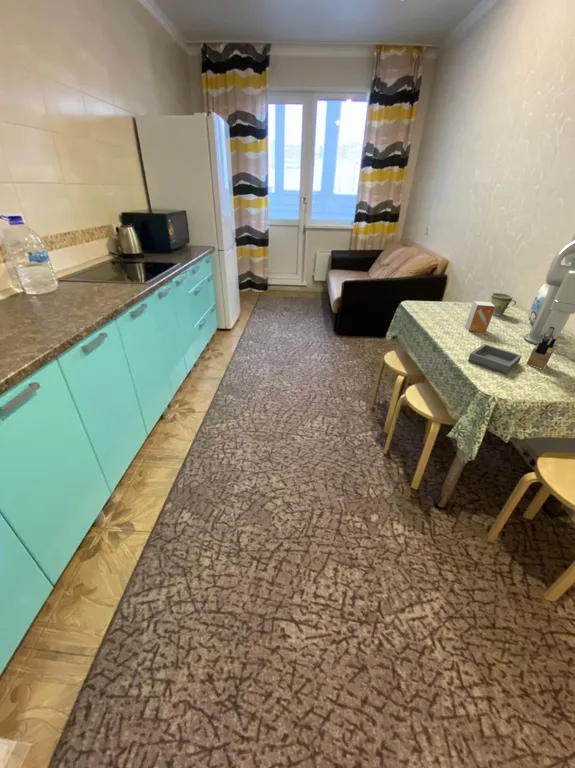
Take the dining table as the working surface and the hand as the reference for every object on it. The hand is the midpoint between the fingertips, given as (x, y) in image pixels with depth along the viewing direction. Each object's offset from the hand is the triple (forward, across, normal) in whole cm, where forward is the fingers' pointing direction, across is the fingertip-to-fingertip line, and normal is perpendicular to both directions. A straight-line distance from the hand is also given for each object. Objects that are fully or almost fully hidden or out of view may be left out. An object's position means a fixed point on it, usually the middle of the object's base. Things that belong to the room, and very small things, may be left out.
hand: (543, 350), depth 126 cm
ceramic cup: (+5, -54, -32) cm, 63 cm away
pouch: (+5, -47, -13) cm, 49 cm away
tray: (+7, +11, -12) cm, 18 cm away
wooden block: (+6, -1, 0) cm, 7 cm away
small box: (+6, -20, -31) cm, 37 cm away
